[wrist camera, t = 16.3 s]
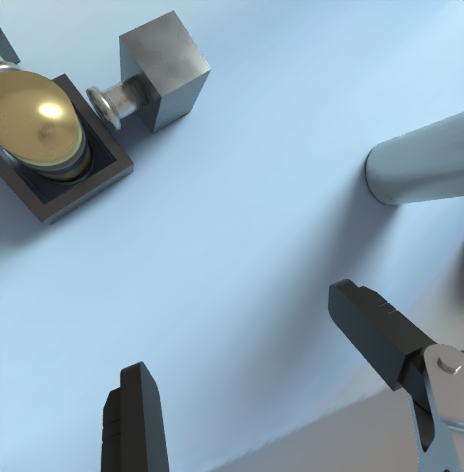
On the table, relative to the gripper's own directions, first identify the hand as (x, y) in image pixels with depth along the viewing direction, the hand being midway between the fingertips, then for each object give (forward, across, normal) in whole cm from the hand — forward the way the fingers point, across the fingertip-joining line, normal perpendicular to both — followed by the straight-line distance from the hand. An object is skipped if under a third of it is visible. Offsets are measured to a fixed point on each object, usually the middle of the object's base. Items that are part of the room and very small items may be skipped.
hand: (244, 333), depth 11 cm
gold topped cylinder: (+23, +9, -4) cm, 25 cm away
